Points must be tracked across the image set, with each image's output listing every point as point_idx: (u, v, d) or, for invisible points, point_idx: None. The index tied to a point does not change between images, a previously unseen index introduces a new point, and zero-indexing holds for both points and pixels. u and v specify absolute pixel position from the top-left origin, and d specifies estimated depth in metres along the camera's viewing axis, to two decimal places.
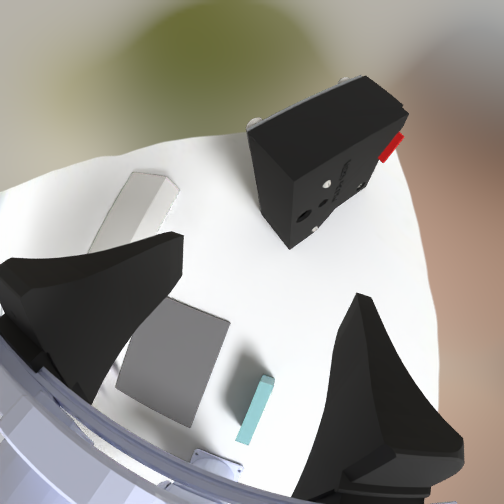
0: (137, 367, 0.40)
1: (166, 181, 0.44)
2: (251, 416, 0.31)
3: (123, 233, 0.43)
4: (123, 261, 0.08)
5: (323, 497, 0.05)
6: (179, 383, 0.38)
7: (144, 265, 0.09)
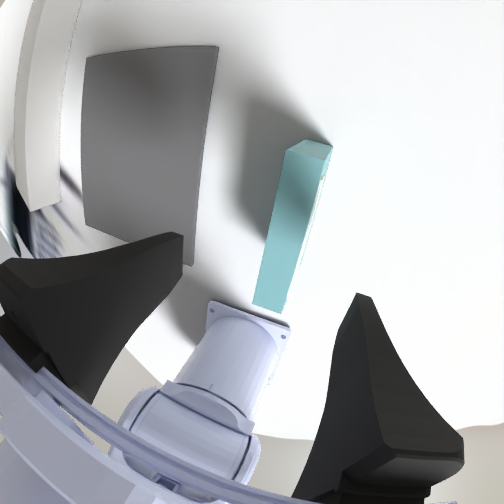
0: (97, 182, 0.24)
1: None
2: (278, 248, 0.14)
3: (37, 16, 0.14)
4: (123, 261, 0.08)
5: (324, 497, 0.05)
6: (155, 188, 0.22)
7: (144, 265, 0.09)
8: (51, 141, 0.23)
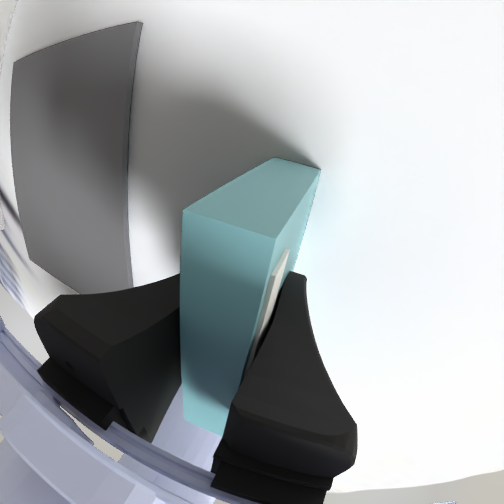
0: (30, 213, 0.17)
1: None
2: (202, 376, 0.07)
3: None
4: None
5: None
6: (81, 227, 0.15)
7: None
8: None
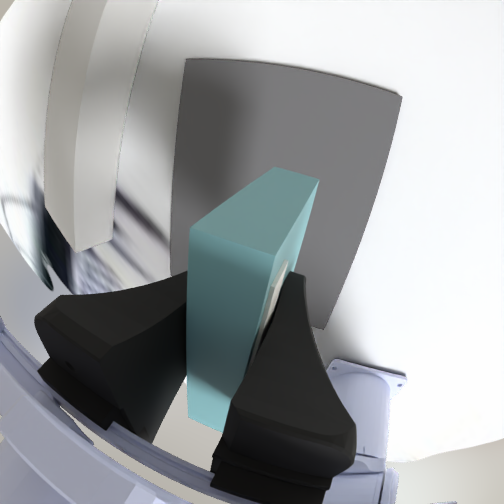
0: None
1: None
2: (206, 376, 0.08)
3: None
4: None
5: None
6: None
7: None
8: (108, 169, 0.21)
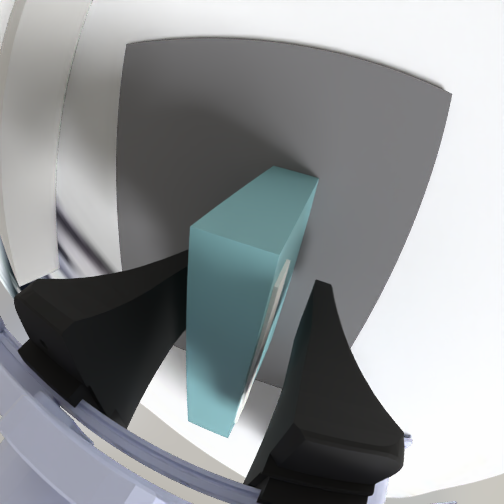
0: None
1: None
2: (207, 380, 0.08)
3: None
4: (165, 279, 0.08)
5: (260, 482, 0.05)
6: (284, 313, 0.14)
7: (184, 281, 0.09)
8: (43, 194, 0.15)
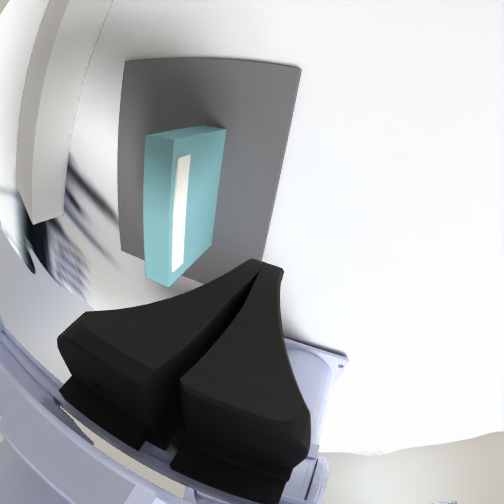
0: (139, 206, 0.23)
1: None
2: (152, 223, 0.15)
3: (57, 14, 0.13)
4: (226, 303, 0.07)
5: None
6: (216, 220, 0.21)
7: (238, 302, 0.09)
8: (60, 158, 0.23)
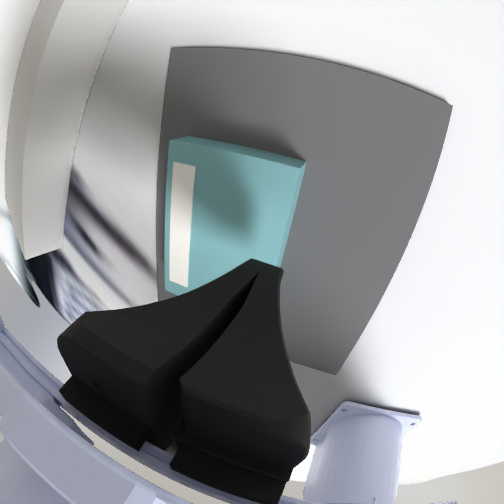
0: None
1: None
2: None
3: None
4: (226, 303, 0.07)
5: None
6: (311, 291, 0.16)
7: (238, 302, 0.09)
8: (58, 183, 0.18)
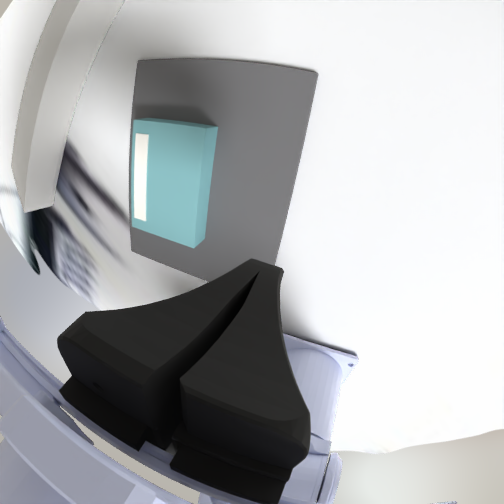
0: None
1: None
2: None
3: (64, 16, 0.13)
4: (226, 303, 0.07)
5: None
6: (231, 221, 0.21)
7: (238, 302, 0.09)
8: (54, 156, 0.24)
